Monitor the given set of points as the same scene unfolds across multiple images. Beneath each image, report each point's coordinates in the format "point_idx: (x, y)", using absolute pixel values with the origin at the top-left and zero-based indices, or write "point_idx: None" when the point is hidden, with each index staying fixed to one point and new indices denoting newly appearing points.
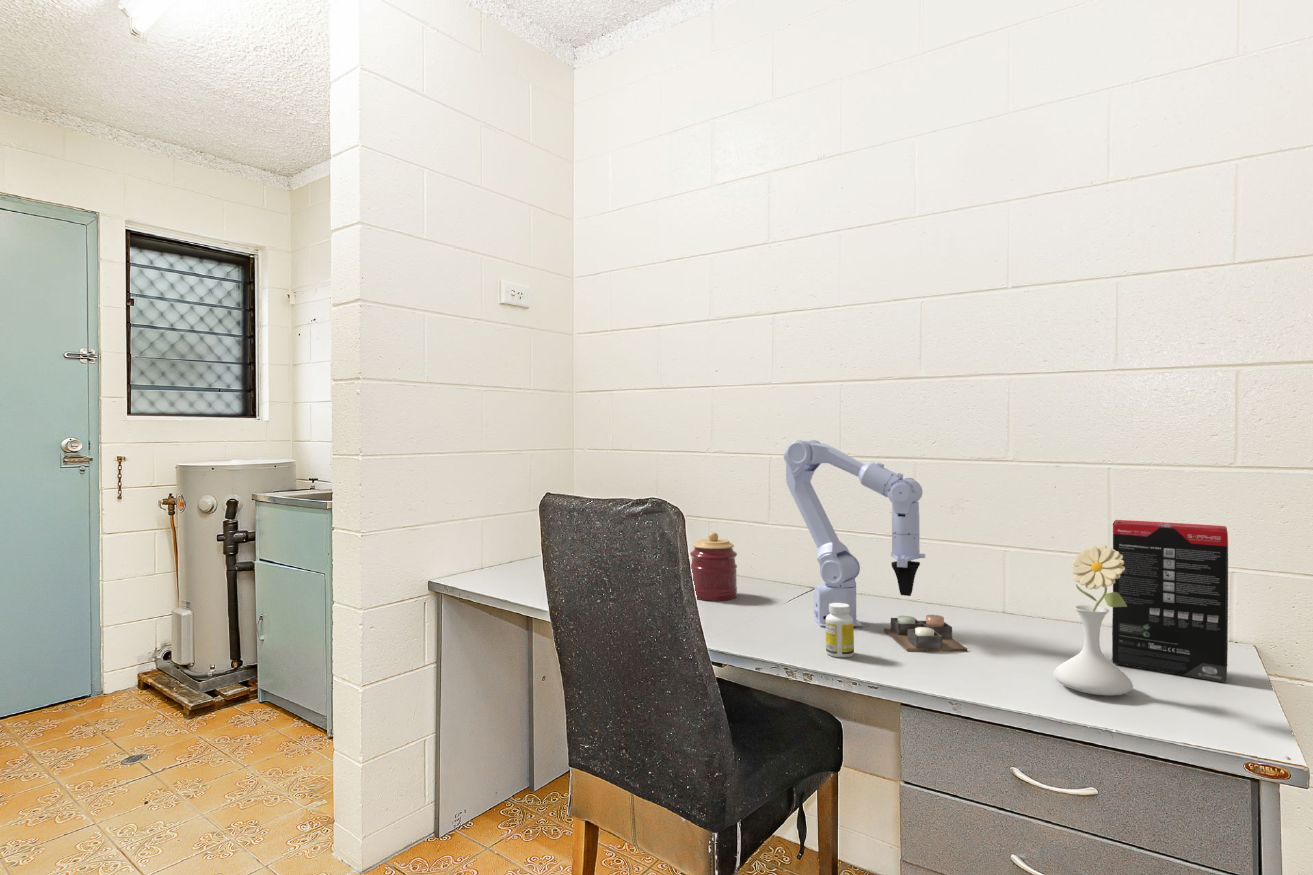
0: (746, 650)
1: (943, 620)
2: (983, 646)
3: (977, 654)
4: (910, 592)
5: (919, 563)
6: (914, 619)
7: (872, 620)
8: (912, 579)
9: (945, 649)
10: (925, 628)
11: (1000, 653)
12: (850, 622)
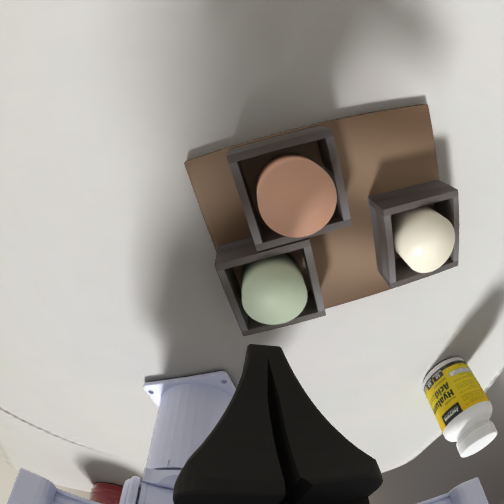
0: (409, 451)
1: (313, 162)
2: (349, 35)
3: (438, 83)
4: (284, 359)
5: (265, 494)
6: (290, 272)
7: (134, 344)
8: (321, 414)
9: (436, 170)
10: (419, 241)
11: (410, 14)
12: (490, 403)
